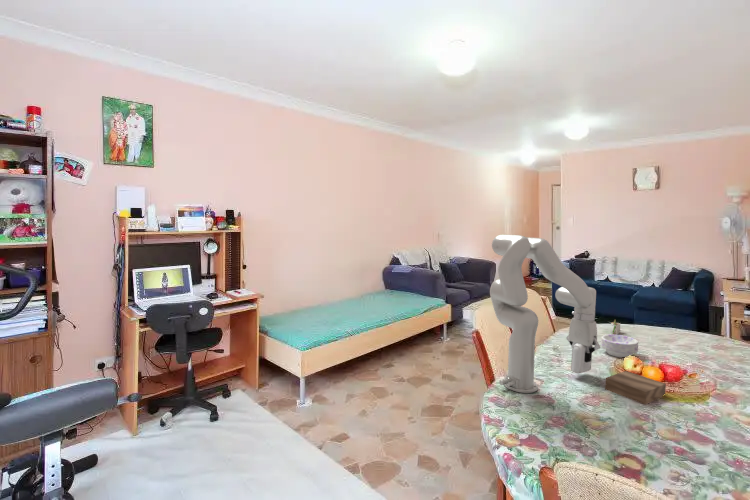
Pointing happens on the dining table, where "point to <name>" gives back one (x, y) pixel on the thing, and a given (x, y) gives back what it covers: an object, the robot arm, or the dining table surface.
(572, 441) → the dining table surface
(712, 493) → the dining table surface
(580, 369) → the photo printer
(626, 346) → the paper bowls
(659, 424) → the dining table surface
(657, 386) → the walnut block
